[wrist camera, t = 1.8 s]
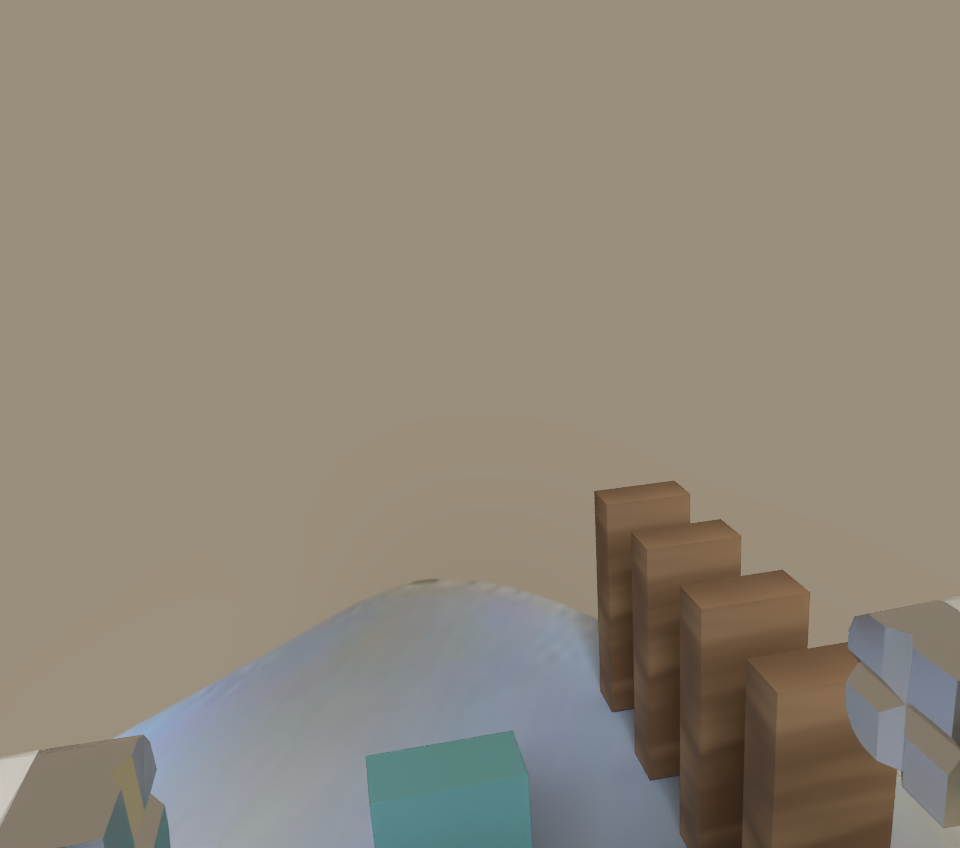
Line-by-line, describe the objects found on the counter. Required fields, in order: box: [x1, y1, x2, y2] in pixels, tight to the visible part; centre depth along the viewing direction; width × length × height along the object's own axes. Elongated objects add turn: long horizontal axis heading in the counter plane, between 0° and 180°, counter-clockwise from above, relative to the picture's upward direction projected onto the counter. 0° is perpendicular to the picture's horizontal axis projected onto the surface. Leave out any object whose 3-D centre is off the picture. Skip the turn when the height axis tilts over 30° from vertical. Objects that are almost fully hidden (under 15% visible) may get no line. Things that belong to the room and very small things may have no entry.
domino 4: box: [680, 570, 810, 848], centre depth 34 cm, size 2×4×12 cm, turn 100°
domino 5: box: [742, 642, 897, 848], centre depth 29 cm, size 2×4×12 cm, turn 100°
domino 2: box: [594, 481, 690, 712], centre depth 45 cm, size 2×4×12 cm, turn 100°
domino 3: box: [631, 519, 741, 780], centre depth 39 cm, size 2×4×12 cm, turn 100°
